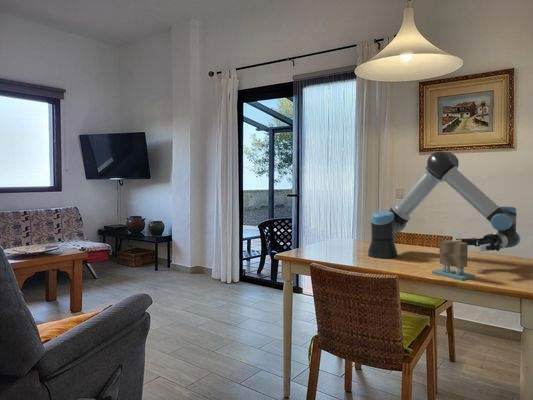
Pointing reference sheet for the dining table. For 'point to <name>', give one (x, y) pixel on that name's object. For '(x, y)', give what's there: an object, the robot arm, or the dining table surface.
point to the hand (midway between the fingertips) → (465, 246)
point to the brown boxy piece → (453, 253)
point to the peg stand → (453, 273)
